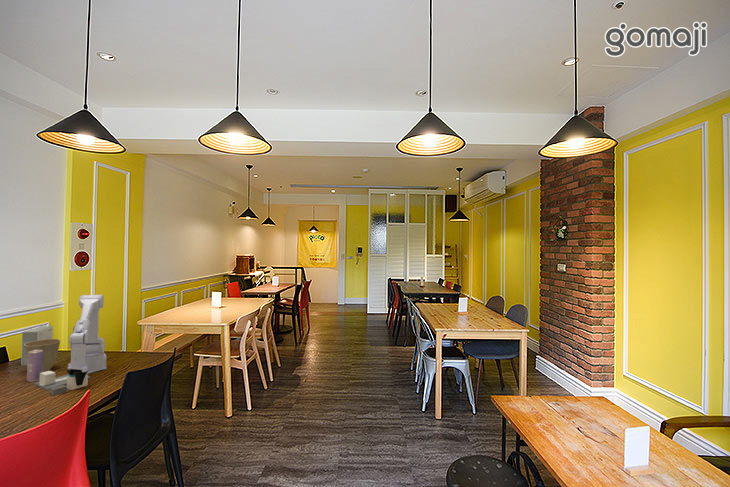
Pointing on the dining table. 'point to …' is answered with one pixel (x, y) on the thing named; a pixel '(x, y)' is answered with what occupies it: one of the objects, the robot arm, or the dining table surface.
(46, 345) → the plant pot
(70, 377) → the block
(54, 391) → the block
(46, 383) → the board
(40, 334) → the hard drive box
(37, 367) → the beverage can
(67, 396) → the dining table surface
